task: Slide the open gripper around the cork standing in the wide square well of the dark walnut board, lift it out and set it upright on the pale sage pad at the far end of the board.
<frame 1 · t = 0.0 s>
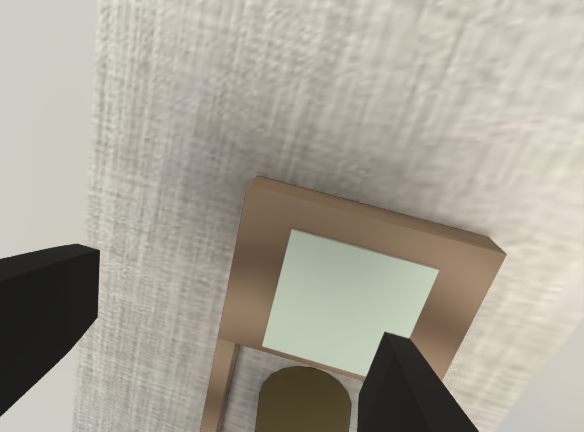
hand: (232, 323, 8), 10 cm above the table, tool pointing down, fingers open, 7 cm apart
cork: (304, 401, 22), resting in well board
well board: (322, 350, 21), on the table
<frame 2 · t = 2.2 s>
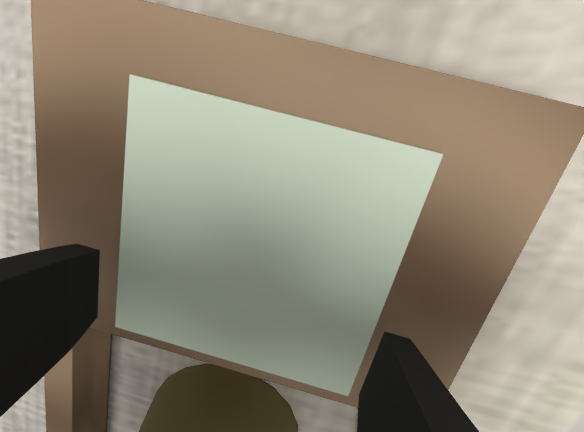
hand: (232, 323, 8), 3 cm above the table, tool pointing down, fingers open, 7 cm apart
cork: (225, 420, 14), resting in well board
well board: (244, 337, 12), on the table
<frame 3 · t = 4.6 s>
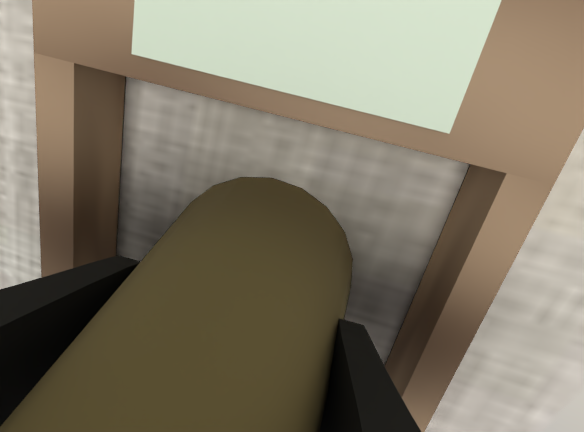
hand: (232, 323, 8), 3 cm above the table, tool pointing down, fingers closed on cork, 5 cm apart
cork: (261, 263, 11), resting in well board, touching gripper
well board: (290, 130, 10), on the table
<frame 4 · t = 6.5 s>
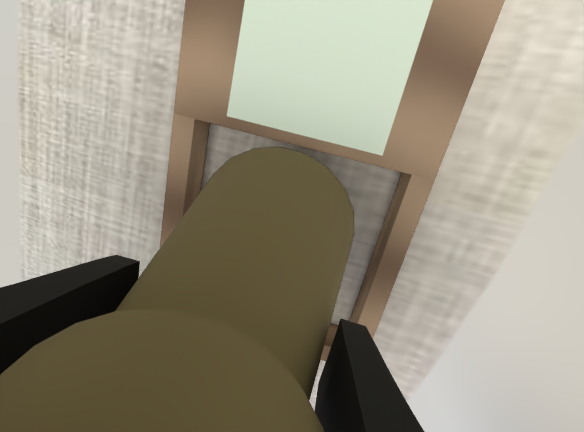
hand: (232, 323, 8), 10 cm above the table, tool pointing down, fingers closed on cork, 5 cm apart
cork: (276, 222, 13), point 5 cm above the table, touching gripper
well board: (303, 150, 17), on the table
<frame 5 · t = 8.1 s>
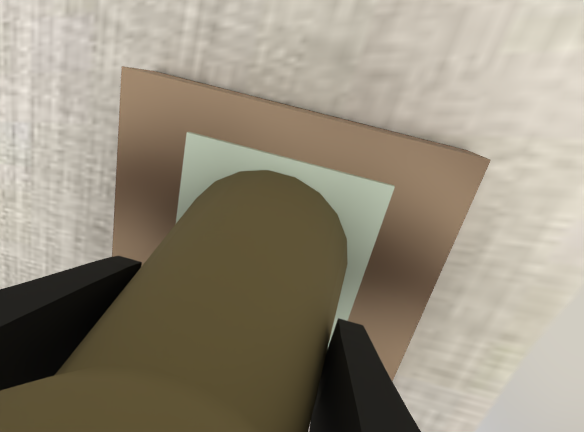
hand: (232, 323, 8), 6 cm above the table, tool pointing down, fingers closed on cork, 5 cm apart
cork: (264, 250, 12), point 2 cm above the table, touching gripper, well board
well board: (257, 317, 16), on the table
when the fingers open (6 cm above the table, at t = 8.6 s): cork stays where it is, resting on well board.
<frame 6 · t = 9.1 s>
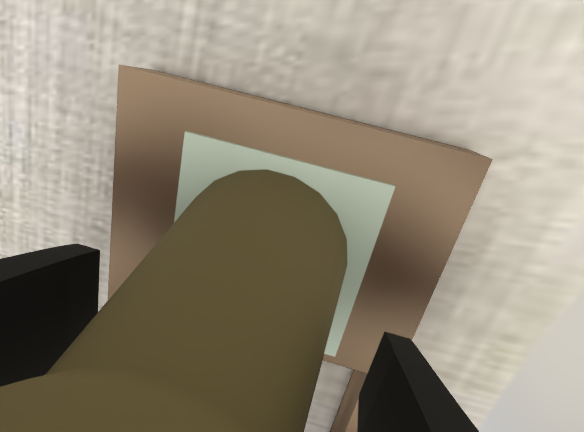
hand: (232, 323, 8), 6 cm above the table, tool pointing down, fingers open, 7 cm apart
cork: (263, 250, 12), point 2 cm above the table, touching well board
well board: (256, 318, 16), on the table
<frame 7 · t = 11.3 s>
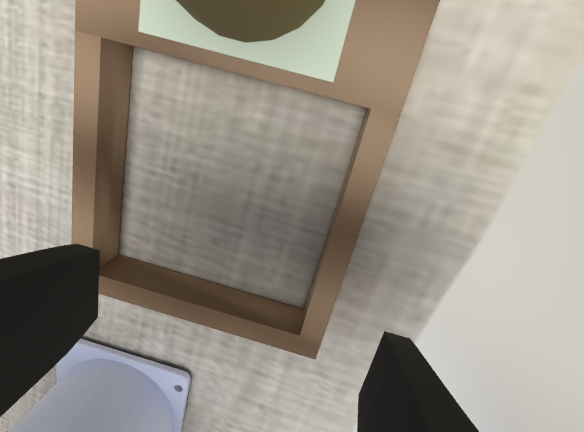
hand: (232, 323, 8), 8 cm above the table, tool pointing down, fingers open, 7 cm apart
well board: (245, 88, 14), on the table
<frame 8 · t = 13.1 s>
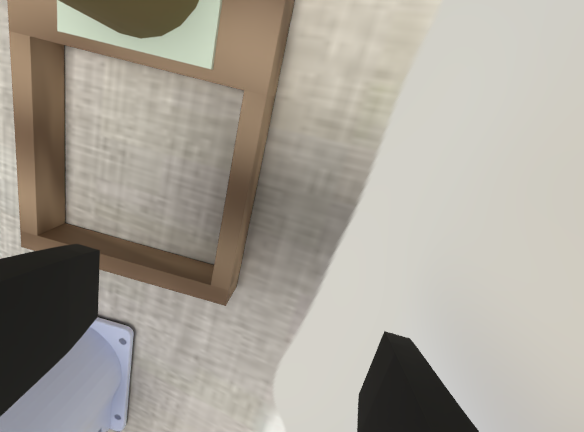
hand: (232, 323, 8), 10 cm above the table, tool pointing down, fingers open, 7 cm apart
well board: (157, 77, 17), on the table
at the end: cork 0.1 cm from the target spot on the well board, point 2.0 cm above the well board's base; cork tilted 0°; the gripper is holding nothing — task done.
